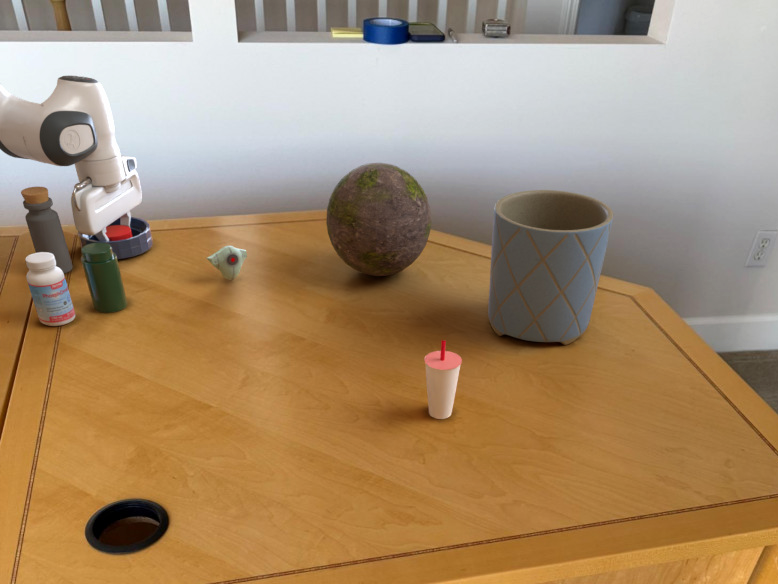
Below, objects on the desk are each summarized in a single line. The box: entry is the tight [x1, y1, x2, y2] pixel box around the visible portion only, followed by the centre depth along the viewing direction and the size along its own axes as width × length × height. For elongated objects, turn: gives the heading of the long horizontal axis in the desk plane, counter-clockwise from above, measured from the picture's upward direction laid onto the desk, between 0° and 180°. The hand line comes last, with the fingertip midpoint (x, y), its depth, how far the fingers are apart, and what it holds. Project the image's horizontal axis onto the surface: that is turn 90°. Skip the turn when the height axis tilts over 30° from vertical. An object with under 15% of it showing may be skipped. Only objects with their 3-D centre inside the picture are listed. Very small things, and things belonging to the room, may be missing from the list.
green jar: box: [80, 243, 129, 314], centre depth 138 cm, size 6×6×11 cm
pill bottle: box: [24, 252, 76, 327], centre depth 133 cm, size 6×6×11 cm
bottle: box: [20, 186, 74, 274], centre depth 147 cm, size 6×6×15 cm
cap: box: [105, 225, 133, 241], centre depth 159 cm, size 6×6×2 cm
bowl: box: [76, 216, 154, 260], centre depth 159 cm, size 14×14×4 cm
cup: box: [424, 339, 463, 420], centre depth 112 cm, size 5×5×12 cm
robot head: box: [206, 245, 248, 280], centre depth 148 cm, size 8×4×7 cm, turn 121°
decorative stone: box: [325, 162, 432, 277], centre depth 147 cm, size 20×20×20 cm
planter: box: [487, 189, 614, 346], centre depth 131 cm, size 19×19×20 cm
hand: (117, 240), depth 160 cm, fingers closed on cap, 6 cm apart
